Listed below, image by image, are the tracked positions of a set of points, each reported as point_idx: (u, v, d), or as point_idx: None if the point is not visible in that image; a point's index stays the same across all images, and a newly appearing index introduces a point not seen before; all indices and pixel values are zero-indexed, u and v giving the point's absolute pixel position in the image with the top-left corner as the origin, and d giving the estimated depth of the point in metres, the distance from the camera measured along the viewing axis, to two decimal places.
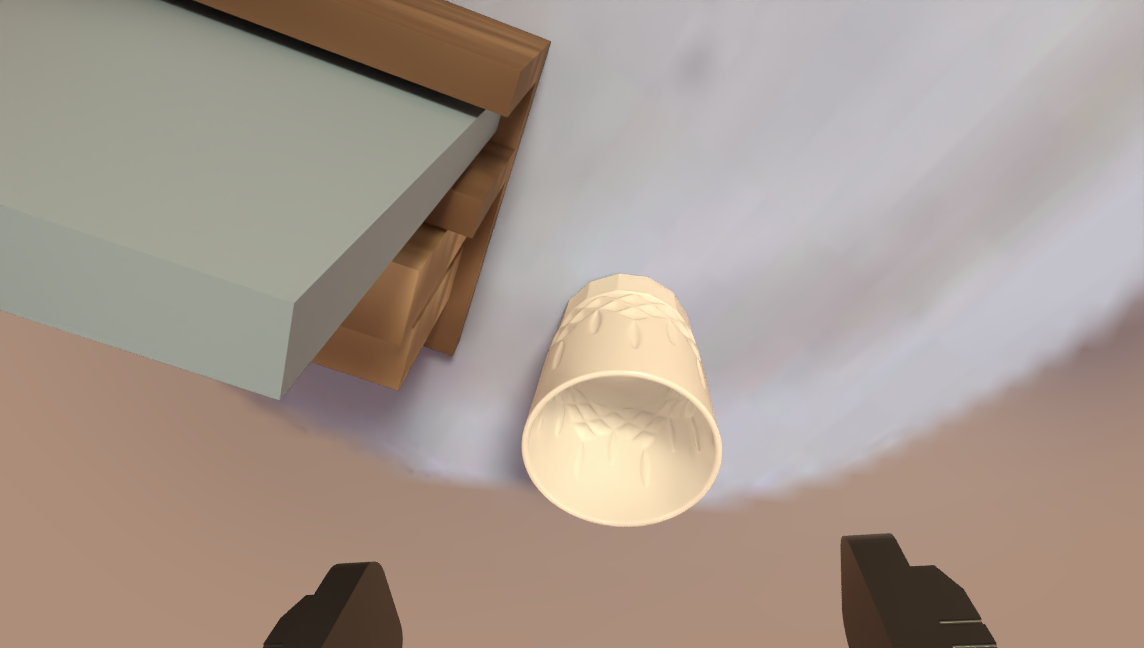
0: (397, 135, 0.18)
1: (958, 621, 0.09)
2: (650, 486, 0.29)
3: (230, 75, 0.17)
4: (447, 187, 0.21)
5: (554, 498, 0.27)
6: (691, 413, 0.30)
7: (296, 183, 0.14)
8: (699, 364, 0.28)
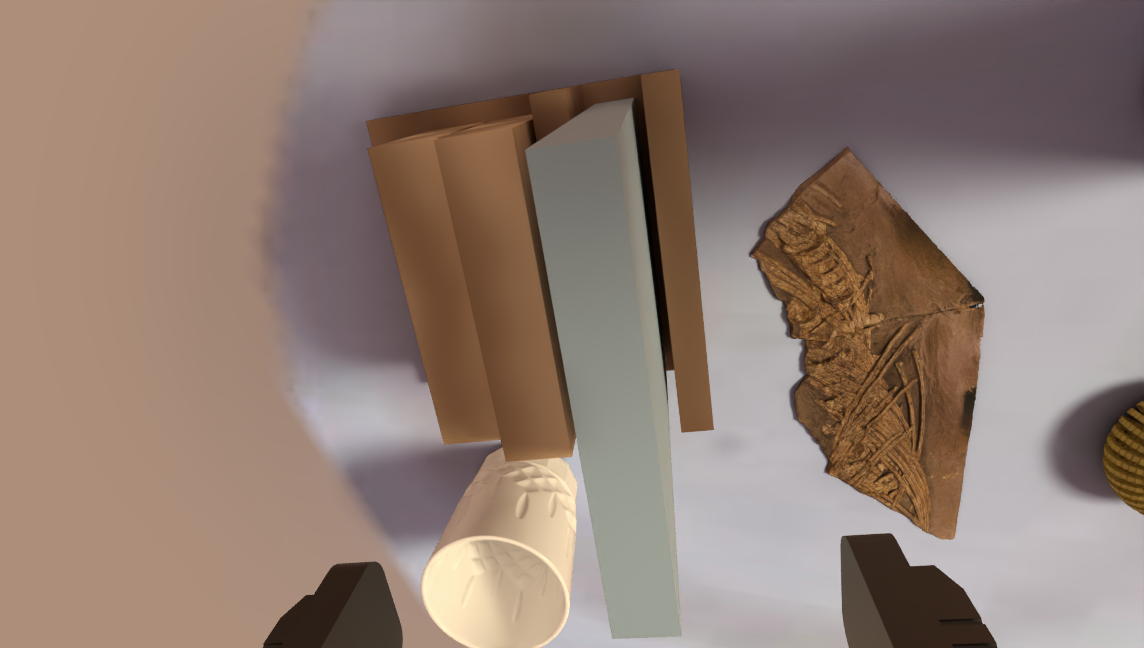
0: (668, 434, 0.27)
1: (958, 621, 0.09)
2: (465, 609, 0.37)
3: (655, 330, 0.25)
4: None
5: (427, 575, 0.34)
6: (522, 587, 0.39)
7: (670, 497, 0.22)
8: None
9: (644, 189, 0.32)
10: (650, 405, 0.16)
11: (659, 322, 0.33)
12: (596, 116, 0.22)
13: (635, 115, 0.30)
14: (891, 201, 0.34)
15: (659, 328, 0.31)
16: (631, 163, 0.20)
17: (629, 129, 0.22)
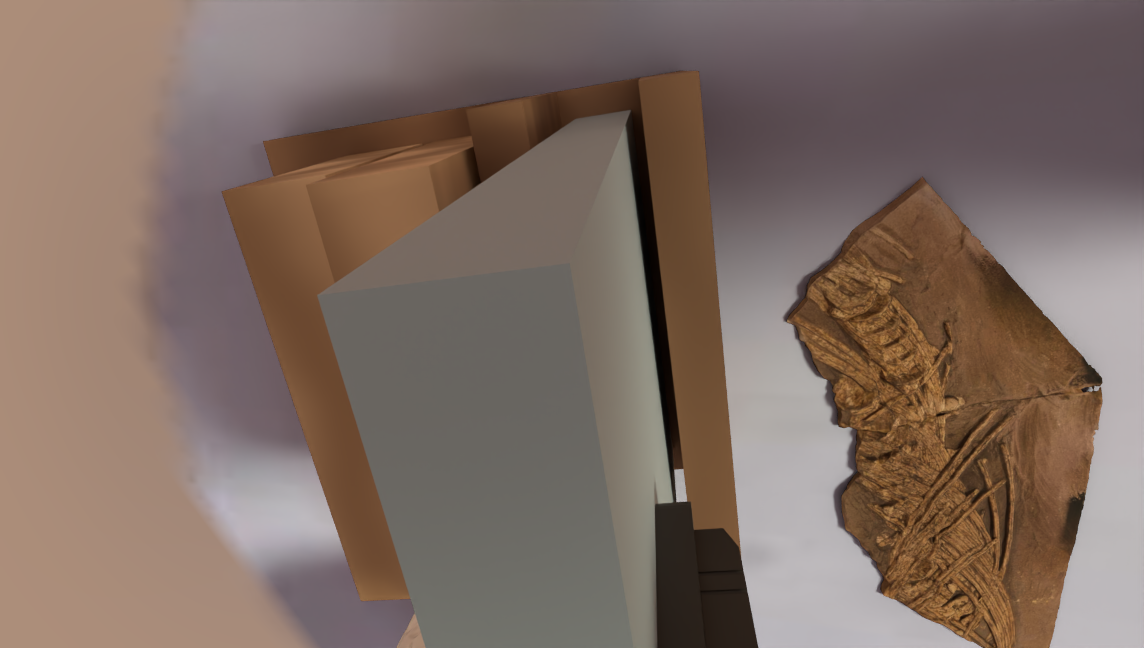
0: None
1: (723, 572, 0.10)
2: None
3: (663, 483, 0.16)
4: None
5: None
6: None
7: None
8: None
9: None
10: None
11: (666, 424, 0.23)
12: (564, 150, 0.13)
13: (632, 136, 0.21)
14: (982, 251, 0.25)
15: (666, 438, 0.22)
16: (623, 242, 0.11)
17: (620, 174, 0.12)
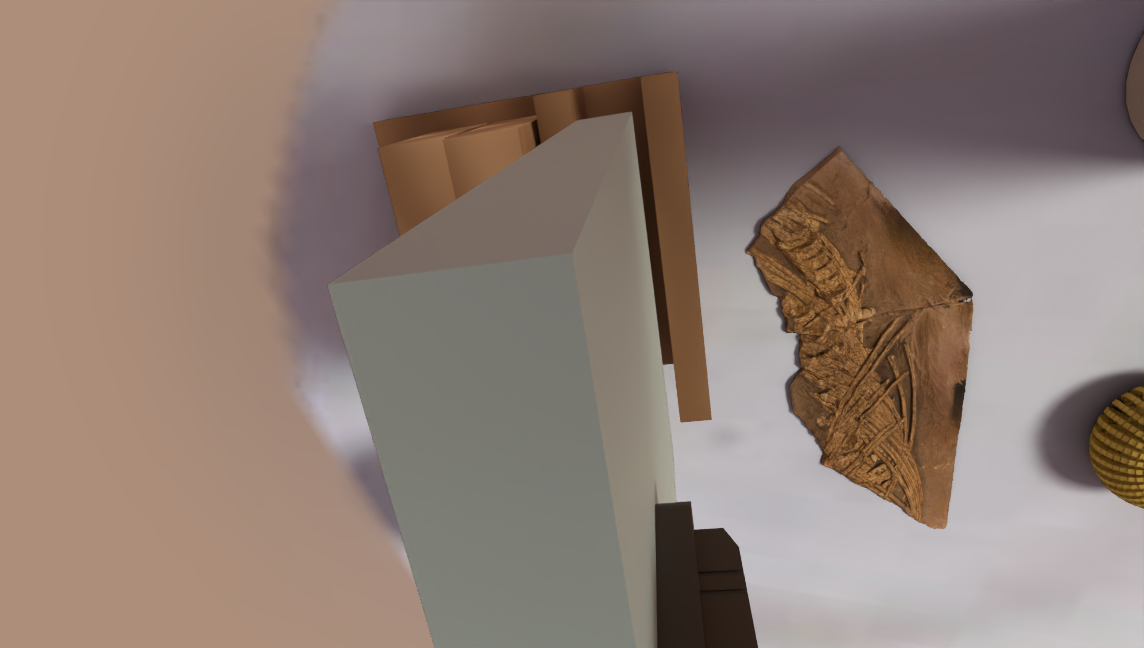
0: None
1: (723, 572, 0.10)
2: None
3: (663, 480, 0.16)
4: None
5: None
6: None
7: None
8: None
9: (645, 240, 0.23)
10: None
11: (666, 423, 0.23)
12: (566, 150, 0.13)
13: (633, 137, 0.21)
14: (882, 199, 0.35)
15: None
16: (624, 240, 0.11)
17: (621, 173, 0.13)
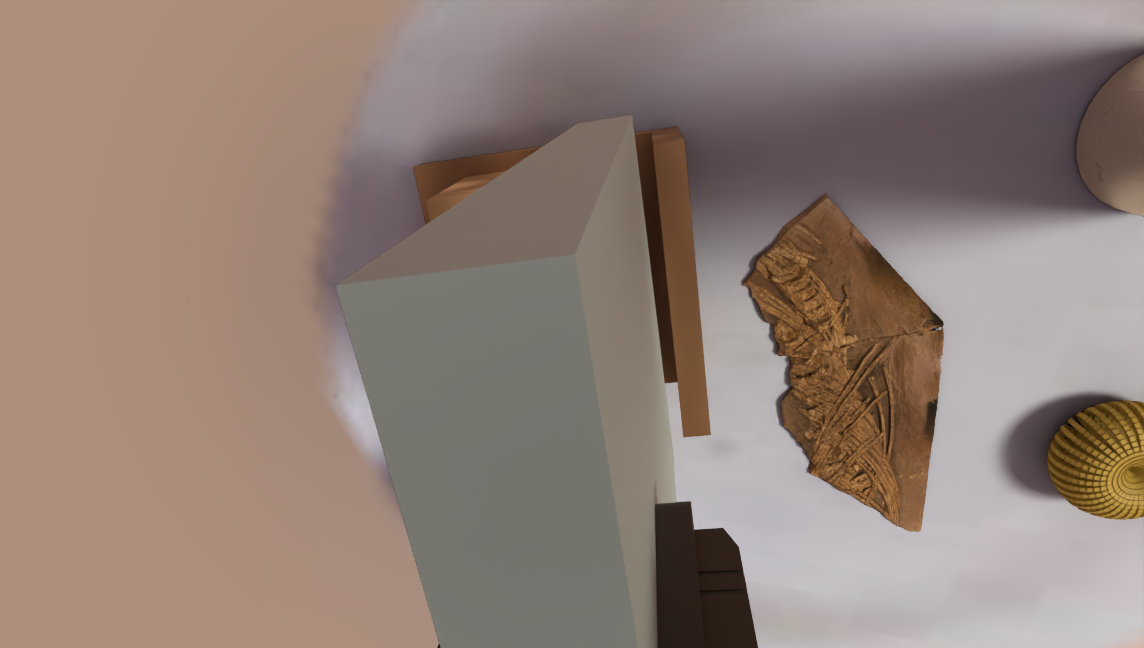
0: None
1: (723, 572, 0.10)
2: None
3: (663, 481, 0.16)
4: None
5: None
6: None
7: None
8: None
9: (645, 242, 0.23)
10: None
11: (666, 424, 0.23)
12: (567, 153, 0.13)
13: None
14: (863, 240, 0.40)
15: None
16: (624, 242, 0.11)
17: (622, 176, 0.13)
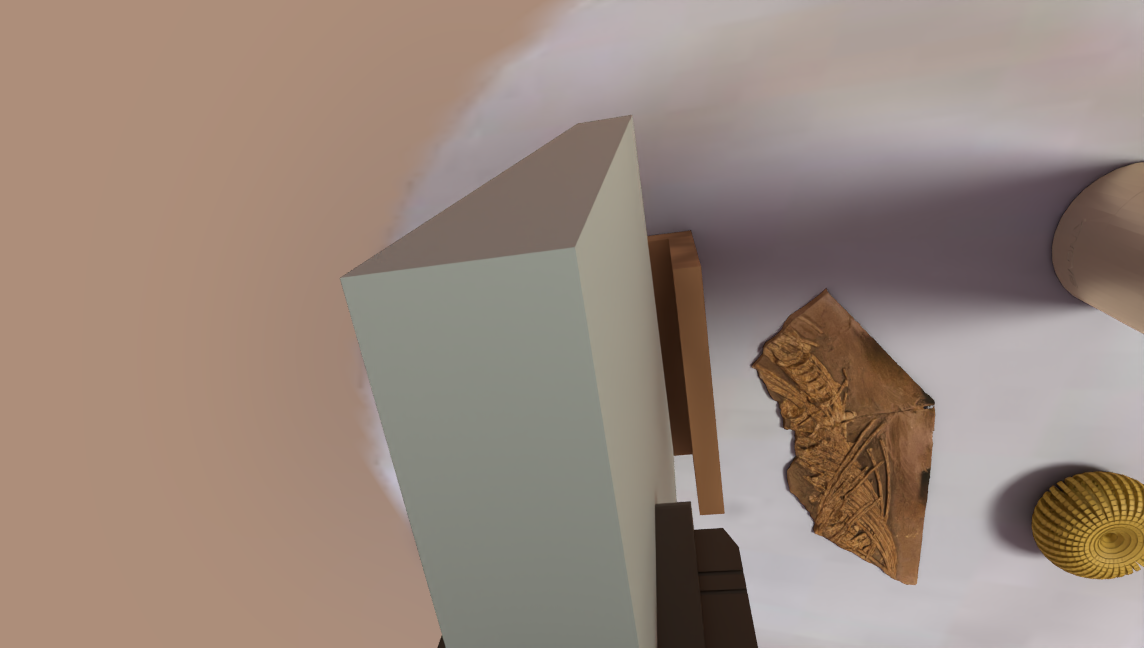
0: None
1: (723, 572, 0.10)
2: None
3: (663, 478, 0.16)
4: None
5: None
6: None
7: None
8: None
9: (645, 241, 0.23)
10: None
11: (666, 423, 0.24)
12: (567, 152, 0.13)
13: (633, 140, 0.22)
14: (861, 329, 0.44)
15: None
16: (624, 240, 0.11)
17: (622, 175, 0.13)
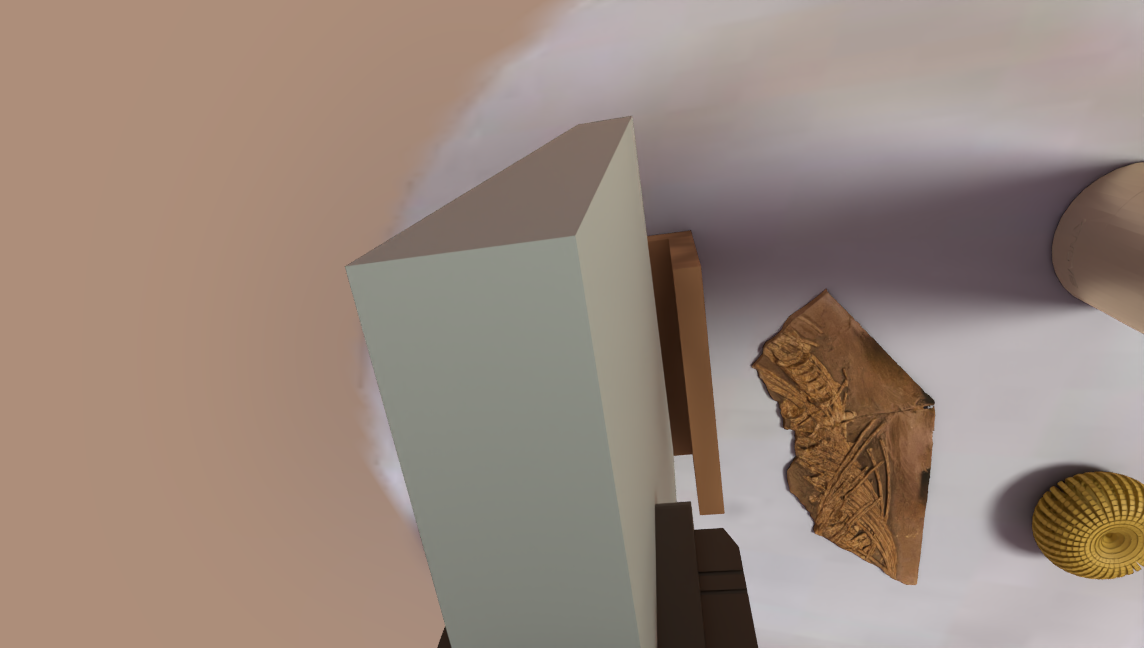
0: None
1: (723, 572, 0.10)
2: None
3: (663, 476, 0.16)
4: None
5: None
6: None
7: None
8: None
9: (645, 241, 0.23)
10: None
11: (666, 423, 0.24)
12: (568, 151, 0.14)
13: (633, 141, 0.22)
14: (861, 329, 0.44)
15: None
16: (624, 236, 0.12)
17: (622, 173, 0.13)
